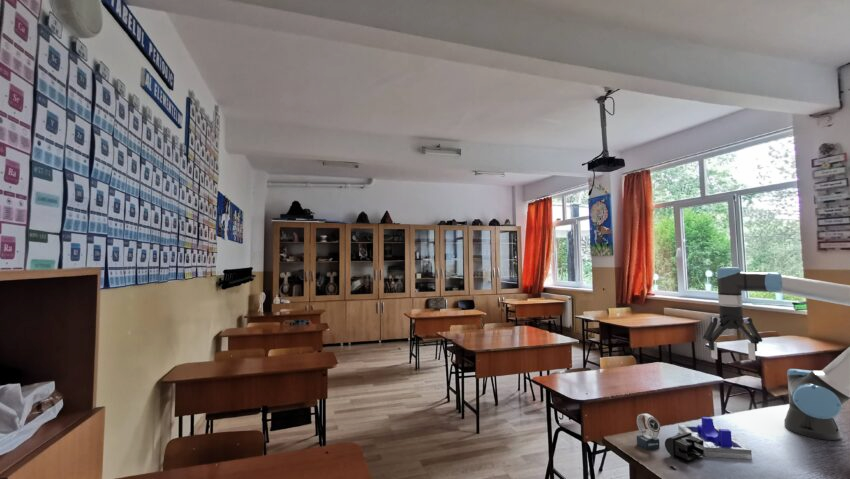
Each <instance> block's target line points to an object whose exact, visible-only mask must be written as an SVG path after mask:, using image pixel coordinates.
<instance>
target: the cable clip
mask: <svg viewBox="0 0 850 479" xmlns="http://www.w3.org/2000/svg"><path fill="white" fill-rule="evenodd" d="M697 426H698V434H700V435H701V436H702V437H704V438H705V439H706V440H709V441H713V442H714V443H716V444H717V445H718V446H719V447H732V439H731V436H732V431H731V429H726V428H725V429H724V428H721V429H719V433H717V432H716V430H715V428H714V427H715V426H714V419H713V418H712V417H710V416H701V424H697Z"/></svg>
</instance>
